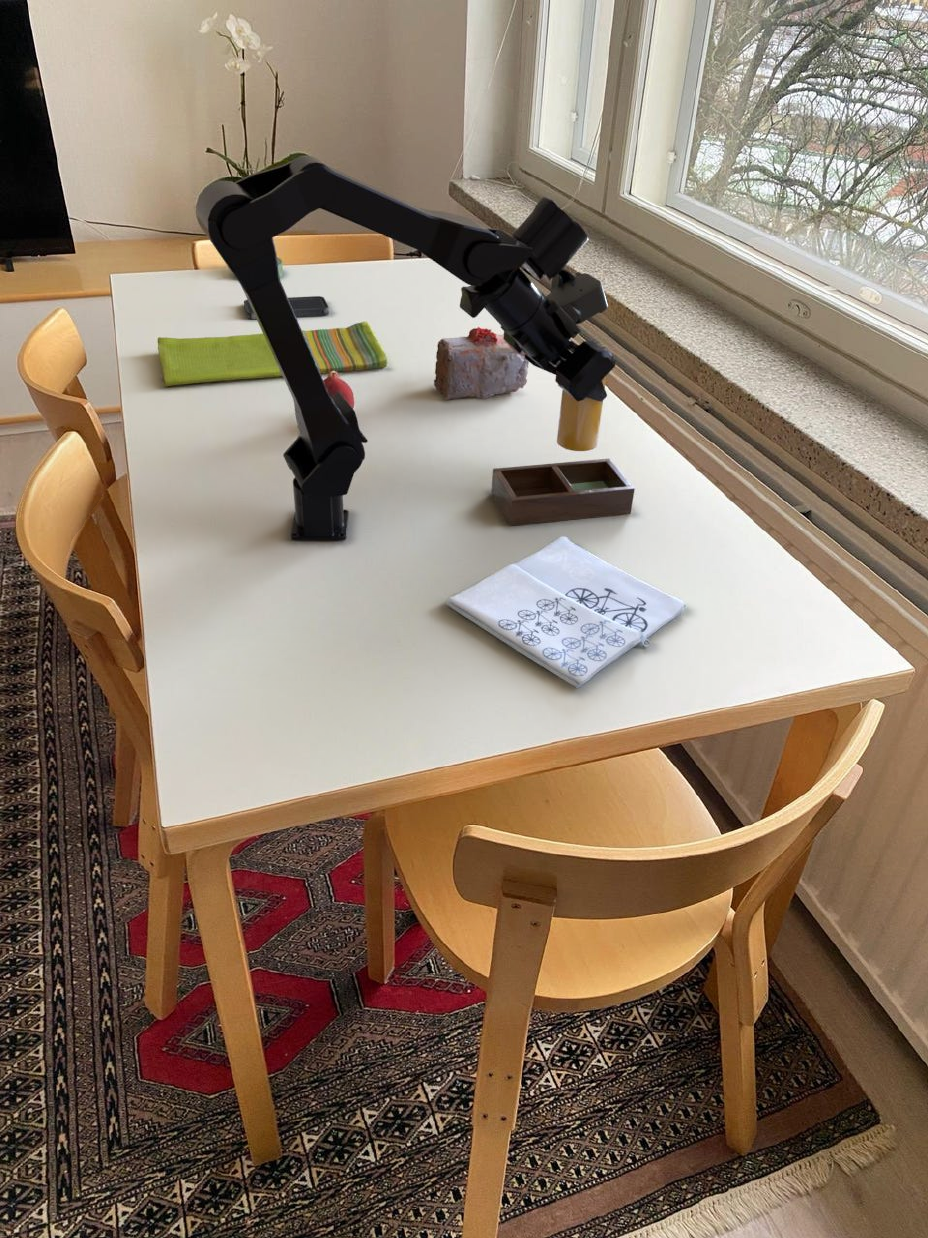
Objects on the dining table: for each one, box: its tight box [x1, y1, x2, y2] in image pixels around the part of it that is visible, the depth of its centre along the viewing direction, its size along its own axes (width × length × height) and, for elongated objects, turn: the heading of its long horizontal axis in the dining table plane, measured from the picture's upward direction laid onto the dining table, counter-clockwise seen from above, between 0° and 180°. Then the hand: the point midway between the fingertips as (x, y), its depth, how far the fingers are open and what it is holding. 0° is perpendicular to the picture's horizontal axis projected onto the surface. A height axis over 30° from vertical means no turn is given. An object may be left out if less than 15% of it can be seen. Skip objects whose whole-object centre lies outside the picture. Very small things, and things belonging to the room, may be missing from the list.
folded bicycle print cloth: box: [444, 535, 687, 689], centre depth 99 cm, size 19×20×2 cm
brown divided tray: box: [490, 458, 636, 527], centre depth 118 cm, size 8×16×4 cm, turn 105°
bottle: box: [556, 374, 608, 452], centre depth 116 cm, size 5×5×13 cm
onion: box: [323, 371, 355, 409], centre depth 132 cm, size 6×6×8 cm
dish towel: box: [157, 321, 388, 387], centre depth 152 cm, size 15×36×3 cm, turn 109°
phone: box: [243, 295, 330, 320], centre depth 173 cm, size 8×1×15 cm
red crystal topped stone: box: [433, 326, 530, 401], centre depth 144 cm, size 14×8×10 cm, turn 111°
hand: (593, 389), depth 116 cm, fingers closed on bottle, 5 cm apart
